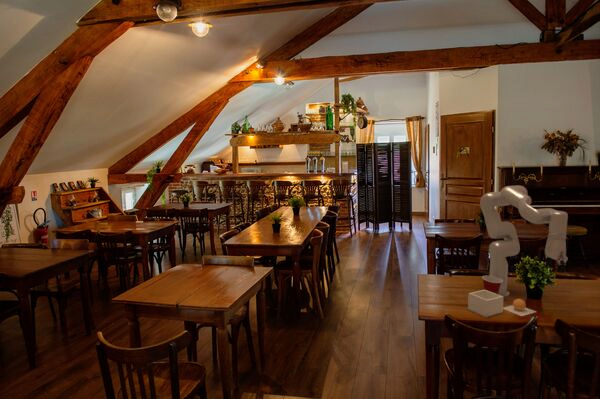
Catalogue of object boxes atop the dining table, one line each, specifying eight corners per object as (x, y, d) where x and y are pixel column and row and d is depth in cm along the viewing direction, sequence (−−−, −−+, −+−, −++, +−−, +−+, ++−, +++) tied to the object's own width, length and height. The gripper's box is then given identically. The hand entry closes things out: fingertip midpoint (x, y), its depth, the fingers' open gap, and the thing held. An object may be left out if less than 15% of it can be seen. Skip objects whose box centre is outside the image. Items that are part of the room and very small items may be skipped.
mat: (501, 309, 230) (501, 308, 229) (516, 304, 235) (516, 304, 235) (521, 317, 219) (521, 316, 219) (536, 312, 224) (536, 311, 224)
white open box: (467, 309, 230) (468, 293, 228) (483, 305, 235) (484, 289, 234) (486, 317, 219) (487, 300, 218) (502, 313, 224) (503, 296, 223)
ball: (510, 309, 228) (510, 298, 227) (517, 306, 231) (518, 296, 230) (520, 313, 223) (520, 301, 222) (527, 310, 225) (528, 299, 225)
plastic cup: (501, 303, 237) (502, 282, 236) (480, 300, 242) (481, 279, 241) (502, 297, 247) (503, 276, 245) (482, 293, 252) (483, 274, 250)
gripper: (539, 232, 221) (537, 264, 223) (560, 240, 204) (557, 274, 206) (554, 232, 221) (551, 264, 223) (576, 240, 204) (573, 274, 206)
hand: (554, 269), depth 215 cm, fingers open, 9 cm apart
